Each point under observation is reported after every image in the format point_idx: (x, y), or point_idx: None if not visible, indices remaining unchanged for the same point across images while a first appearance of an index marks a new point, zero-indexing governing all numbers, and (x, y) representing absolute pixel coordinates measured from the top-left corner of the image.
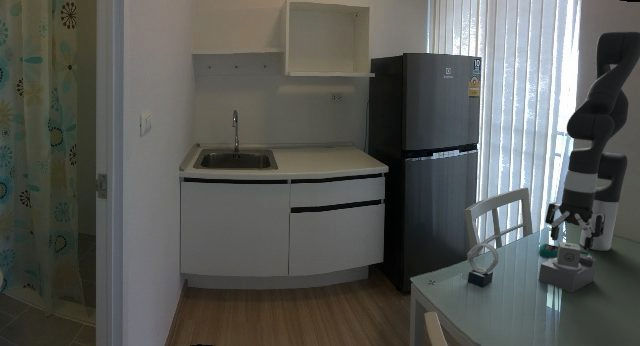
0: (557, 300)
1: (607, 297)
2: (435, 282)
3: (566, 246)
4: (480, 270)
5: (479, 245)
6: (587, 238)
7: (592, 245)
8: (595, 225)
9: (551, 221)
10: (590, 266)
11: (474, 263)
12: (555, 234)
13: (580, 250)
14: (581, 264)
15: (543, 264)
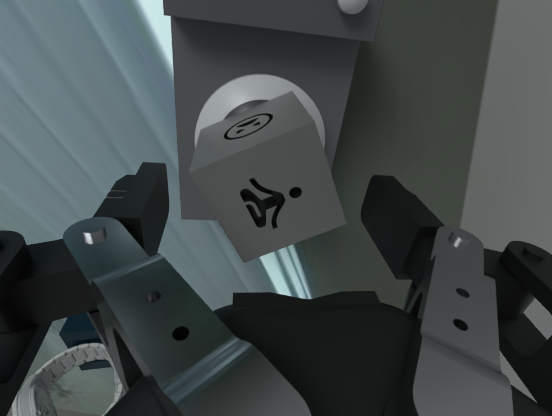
0: (290, 261)
1: (403, 122)
2: (62, 385)
3: (264, 230)
4: (93, 353)
5: None
6: (405, 273)
7: (417, 200)
8: (532, 393)
9: (57, 314)
10: (354, 43)
11: (54, 359)
12: (159, 234)
13: (343, 223)
14: (310, 53)
15: (192, 218)
